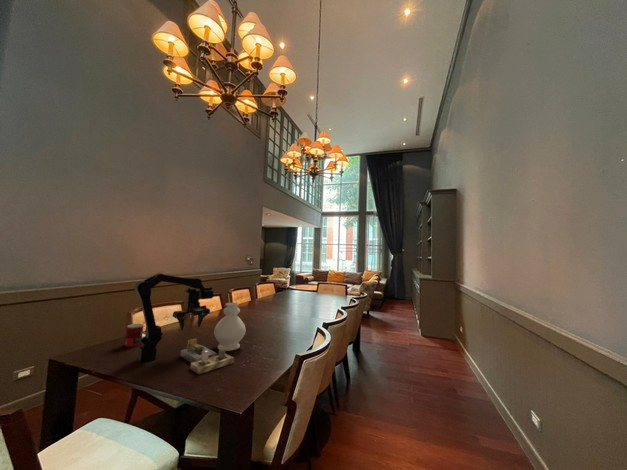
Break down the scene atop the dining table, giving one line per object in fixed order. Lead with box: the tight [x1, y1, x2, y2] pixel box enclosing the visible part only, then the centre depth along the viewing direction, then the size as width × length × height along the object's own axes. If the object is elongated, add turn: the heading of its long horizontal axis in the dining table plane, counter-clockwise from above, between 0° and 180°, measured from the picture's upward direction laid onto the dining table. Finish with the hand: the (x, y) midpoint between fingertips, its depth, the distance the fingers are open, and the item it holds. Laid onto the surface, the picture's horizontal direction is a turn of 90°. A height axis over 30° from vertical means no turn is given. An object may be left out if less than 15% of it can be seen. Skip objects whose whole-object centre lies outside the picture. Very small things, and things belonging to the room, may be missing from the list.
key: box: [186, 338, 201, 351], centre depth 134 cm, size 4×8×4 cm, turn 51°
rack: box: [190, 349, 235, 375], centre depth 122 cm, size 18×8×6 cm, turn 142°
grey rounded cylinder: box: [201, 350, 209, 366], centre depth 119 cm, size 3×3×8 cm
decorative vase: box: [213, 302, 246, 352], centre depth 149 cm, size 18×18×25 cm
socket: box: [180, 344, 218, 364], centre depth 131 cm, size 11×16×5 cm
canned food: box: [124, 323, 144, 348], centre depth 144 cm, size 8×8×11 cm
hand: (190, 328), depth 141 cm, fingers open, 9 cm apart
